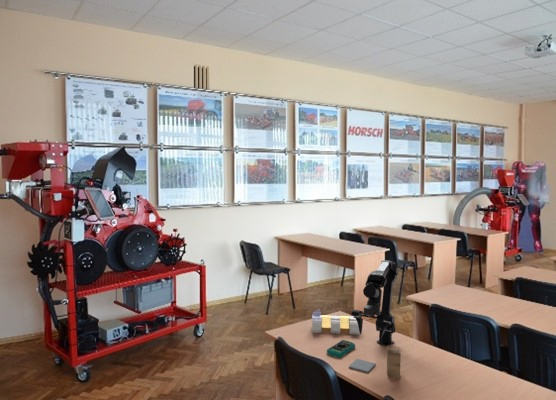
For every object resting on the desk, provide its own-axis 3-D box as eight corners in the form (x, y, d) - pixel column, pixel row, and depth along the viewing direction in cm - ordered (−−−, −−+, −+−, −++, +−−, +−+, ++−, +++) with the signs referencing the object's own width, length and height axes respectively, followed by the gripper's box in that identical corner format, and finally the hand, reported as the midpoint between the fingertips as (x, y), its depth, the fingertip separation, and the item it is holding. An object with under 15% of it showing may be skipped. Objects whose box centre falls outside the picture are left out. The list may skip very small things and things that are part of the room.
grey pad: (356, 360, 194) (356, 358, 194) (375, 365, 189) (375, 363, 189) (348, 368, 186) (348, 366, 186) (368, 373, 181) (368, 371, 181)
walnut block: (386, 372, 182) (387, 347, 181) (398, 373, 181) (399, 348, 181) (388, 378, 177) (388, 352, 176) (400, 379, 176) (400, 353, 176)
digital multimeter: (355, 348, 208) (355, 342, 208) (340, 359, 196) (340, 352, 196) (342, 344, 213) (342, 338, 213) (326, 355, 201) (326, 348, 200)
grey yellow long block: (311, 333, 227) (311, 309, 226) (312, 326, 237) (312, 303, 236) (359, 335, 224) (359, 311, 223) (358, 328, 234) (358, 305, 233)
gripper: (349, 295, 190) (345, 331, 186) (391, 301, 182) (387, 339, 177) (356, 298, 200) (352, 332, 196) (396, 304, 191) (393, 340, 187)
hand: (370, 335), depth 189 cm, fingers open, 9 cm apart
